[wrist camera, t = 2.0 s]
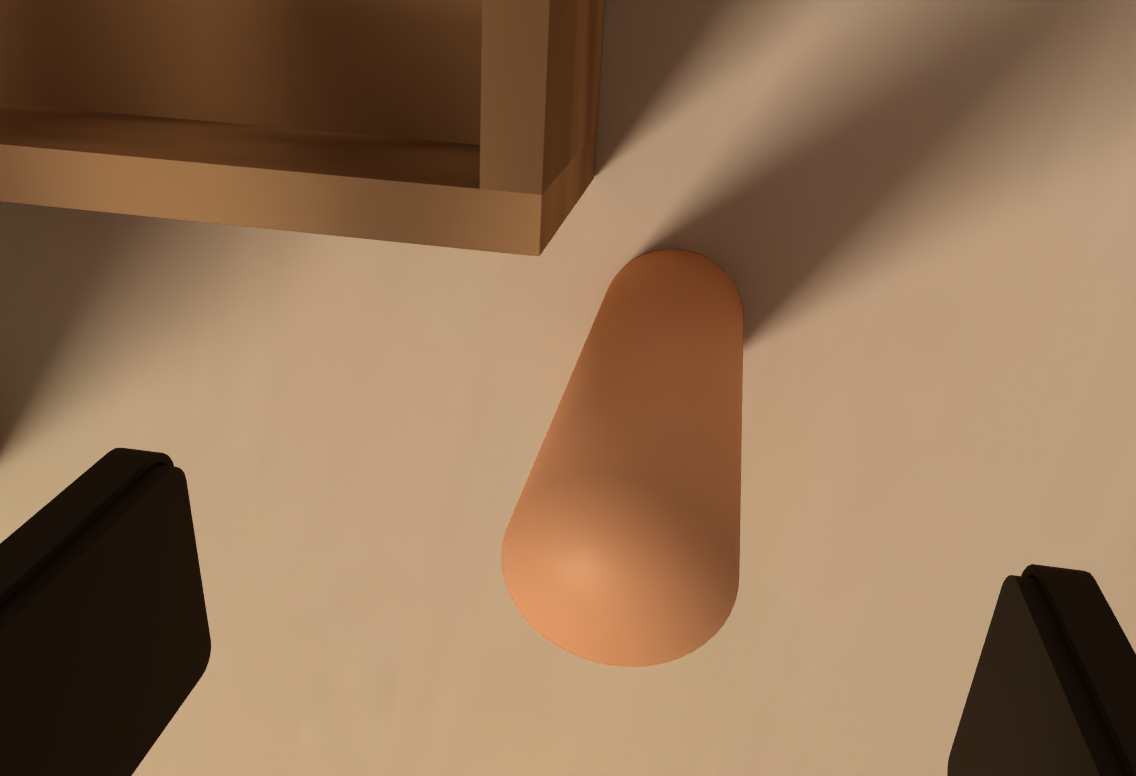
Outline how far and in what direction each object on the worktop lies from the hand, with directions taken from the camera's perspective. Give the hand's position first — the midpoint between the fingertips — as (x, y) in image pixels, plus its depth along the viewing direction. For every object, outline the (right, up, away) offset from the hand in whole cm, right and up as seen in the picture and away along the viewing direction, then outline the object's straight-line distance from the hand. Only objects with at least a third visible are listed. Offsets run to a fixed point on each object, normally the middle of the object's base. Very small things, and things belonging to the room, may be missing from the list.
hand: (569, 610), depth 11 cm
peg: (+2, +4, +11) cm, 12 cm away
